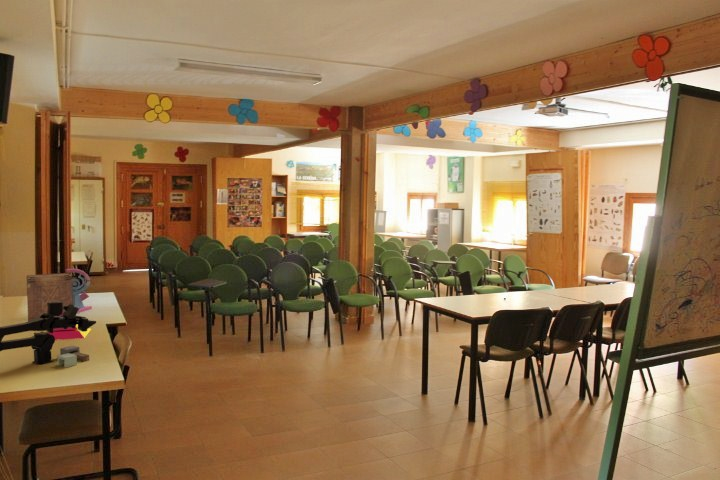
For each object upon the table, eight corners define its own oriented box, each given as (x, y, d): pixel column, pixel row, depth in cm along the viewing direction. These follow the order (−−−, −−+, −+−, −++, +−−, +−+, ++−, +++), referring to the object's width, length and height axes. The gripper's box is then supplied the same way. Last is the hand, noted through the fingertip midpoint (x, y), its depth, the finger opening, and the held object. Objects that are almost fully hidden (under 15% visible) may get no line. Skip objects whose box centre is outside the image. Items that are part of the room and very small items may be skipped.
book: (27, 325, 365) (26, 276, 363) (28, 322, 373) (26, 275, 371) (73, 321, 377) (71, 274, 375) (72, 318, 385) (71, 272, 383)
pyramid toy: (92, 330, 354) (91, 306, 353) (85, 339, 330) (84, 314, 329) (46, 332, 347) (45, 308, 346) (35, 342, 323) (34, 316, 322)
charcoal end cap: (79, 356, 293) (79, 347, 292) (66, 359, 287) (66, 349, 287) (73, 354, 296) (73, 345, 295) (60, 357, 290) (60, 348, 290)
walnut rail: (83, 361, 283) (83, 356, 282) (71, 358, 288) (71, 353, 288) (89, 360, 285) (89, 354, 285) (77, 357, 290) (77, 352, 290)
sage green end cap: (65, 367, 273) (65, 357, 272) (57, 365, 276) (57, 355, 276) (76, 364, 277) (76, 355, 277) (68, 362, 281) (68, 353, 281)
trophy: (91, 308, 419) (90, 266, 417) (91, 312, 404) (89, 269, 402) (60, 310, 412) (58, 268, 410) (58, 315, 396) (56, 270, 394)
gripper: (73, 310, 282) (103, 308, 296) (52, 302, 293) (82, 300, 306) (70, 333, 283) (100, 330, 296) (50, 324, 293) (79, 322, 306)
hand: (90, 320), depth 301 cm, fingers open, 9 cm apart
